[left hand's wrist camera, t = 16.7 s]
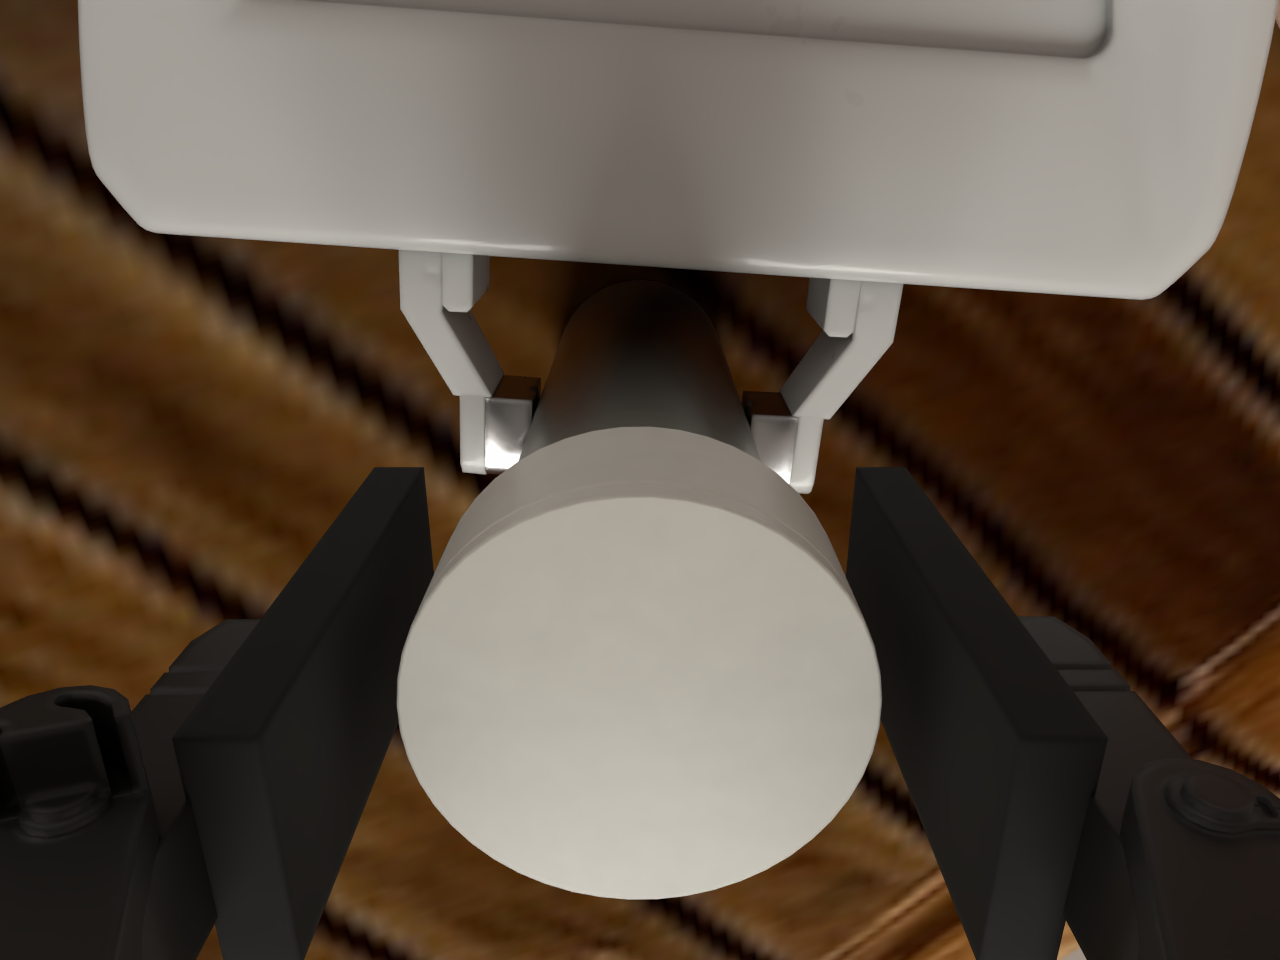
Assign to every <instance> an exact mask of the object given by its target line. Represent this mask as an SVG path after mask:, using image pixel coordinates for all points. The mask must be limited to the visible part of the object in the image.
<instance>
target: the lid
mask: <svg viewBox="0 0 1280 960" xmlns="http://www.w3.org/2000/svg"><path fill="white" fill-rule="evenodd" d="M881 706H882V687H881V672H880V667H879V663H878V658H877V654H876V649H875V645H874V642H873V640H872V637H871V635H870V632H869V630H868V627H867V625H866V622H865V619H864V617H863V615H862V613H861V610H860V608H859V606H858V604H857V601H856V599H855V597H854V595H853V592H852V590H851V588H850V586H849V583H848V581H847V579H846V577H845V574H844V572H843V570H842V568H841V565H840V563H839V561H838V559H837V556H836V554H835V552H834V549H833V547H832V545H831V543H830V540H829V538H828V536H827V534H826V532H825V531H824V529H823V527H822V525H821V524H820V522H819V520H818V518H817V517H816V515H815V513H814V512H813V511H812V510H811V508H810V507H809V506H808V504H807V503H806V502H805V501H804V499H803V498H802V497H801V496H800V494H799V493H798V492H797V491H796V490H795V489H794V488H793V487H791V486H790V485H789V484H788V483H787V482H786V481H785V480H784V479H783V478H782V477H781V476H780V475H779V474H777V473H776V472H774V471H773V470H772V469H770V468H769V467H768V466H766V465H765V464H763V463H762V462H761V461H759V460H758V459H756V458H754V457H752V456H750V455H748V454H747V453H745V452H743V451H741V450H739V449H737V448H735V447H734V446H731V445H728V444H726V443H723V442H720V441H718V440H715V439H712V438H710V437H707V436H703V435H699V434H695V433H691V432H686V431H682V430H677V429H668V428H658V427H618V428H611V429H604V430H597V431H591V432H587V433H584V434H580V435H576V436H573V437H569V438H565V439H563V440H560V441H558V442H556V443H553V444H551V445H548V446H546V447H544V448H541V449H539V450H537V451H535V452H534V453H532V454H530V455H529V456H527V457H525V458H523V459H522V460H520V461H518V462H516V463H515V464H514V465H512V466H511V467H510V468H508V469H507V470H506V471H504V472H503V473H502V474H501V475H499V476H498V477H497V478H495V479H494V480H493V481H492V482H491V483H490V484H489V485H488V486H487V487H486V488H485V489H484V490H483V491H482V492H481V493H480V494H479V495H478V496H477V497H476V499H475V500H474V501H473V503H472V504H471V505H470V507H469V508H468V510H467V511H466V512H465V514H464V515H463V516H462V518H461V519H460V521H459V523H458V525H457V527H456V529H455V530H454V532H453V534H452V536H451V538H450V540H449V542H448V544H447V546H446V549H445V551H444V553H443V555H442V558H441V560H440V562H439V564H438V567H437V569H436V571H435V573H434V576H433V578H432V580H431V582H430V584H429V587H428V589H427V591H426V593H425V596H424V598H423V600H422V602H421V605H420V607H419V609H418V612H417V614H416V616H415V618H414V620H413V622H412V625H411V627H410V630H409V633H408V636H407V639H406V642H405V645H404V647H403V650H402V654H401V660H400V665H399V671H398V677H397V712H398V719H399V726H400V733H401V736H402V739H403V743H404V746H405V749H406V753H407V756H408V759H409V761H410V763H411V766H412V768H413V770H414V772H415V774H416V776H417V778H418V781H419V783H420V784H421V786H422V787H423V789H424V790H425V792H426V793H427V795H428V796H429V798H430V800H431V801H432V803H433V804H434V805H435V807H436V808H437V809H438V810H439V811H440V812H441V814H442V815H443V816H444V817H445V818H446V819H447V821H448V822H449V823H450V824H451V825H452V826H453V827H454V828H455V829H456V830H457V831H459V832H460V833H461V834H462V835H463V836H464V837H465V838H466V839H467V840H468V841H470V842H471V843H472V844H473V845H475V846H476V847H478V848H479V849H480V850H482V851H483V852H485V853H486V854H487V855H489V856H490V857H492V858H493V859H495V860H496V861H498V862H500V863H502V864H504V865H506V866H507V867H509V868H511V869H513V870H515V871H516V872H518V873H521V874H523V875H525V876H528V877H530V878H533V879H535V880H537V881H540V882H542V883H545V884H548V885H551V886H555V887H558V888H562V889H565V890H568V891H572V892H577V893H582V894H587V895H593V896H598V897H607V898H619V899H662V898H671V897H680V896H687V895H692V894H697V893H701V892H706V891H711V890H715V889H718V888H721V887H724V886H727V885H730V884H733V883H736V882H739V881H742V880H744V879H746V878H749V877H751V876H753V875H755V874H758V873H760V872H762V871H764V870H767V869H768V868H770V867H772V866H773V865H775V864H777V863H778V862H780V861H782V860H784V859H785V858H787V857H789V856H790V855H792V854H793V853H794V852H796V851H797V850H798V849H800V848H801V847H802V846H804V845H805V844H806V843H808V842H809V841H810V840H812V839H813V838H814V837H815V836H816V835H817V834H818V833H819V832H820V831H821V830H822V829H823V828H824V827H825V826H826V825H827V824H828V823H830V822H831V821H832V819H833V818H834V817H835V816H836V814H837V813H838V812H839V811H840V809H841V808H842V807H843V806H844V805H845V803H846V802H847V801H848V800H849V798H850V796H851V795H852V793H853V791H854V790H855V788H856V786H857V785H858V783H859V781H860V780H861V778H862V776H863V774H864V772H865V769H866V767H867V764H868V762H869V760H870V757H871V755H872V753H873V749H874V745H875V741H876V737H877V733H878V730H879V726H880V716H881Z"/></svg>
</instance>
